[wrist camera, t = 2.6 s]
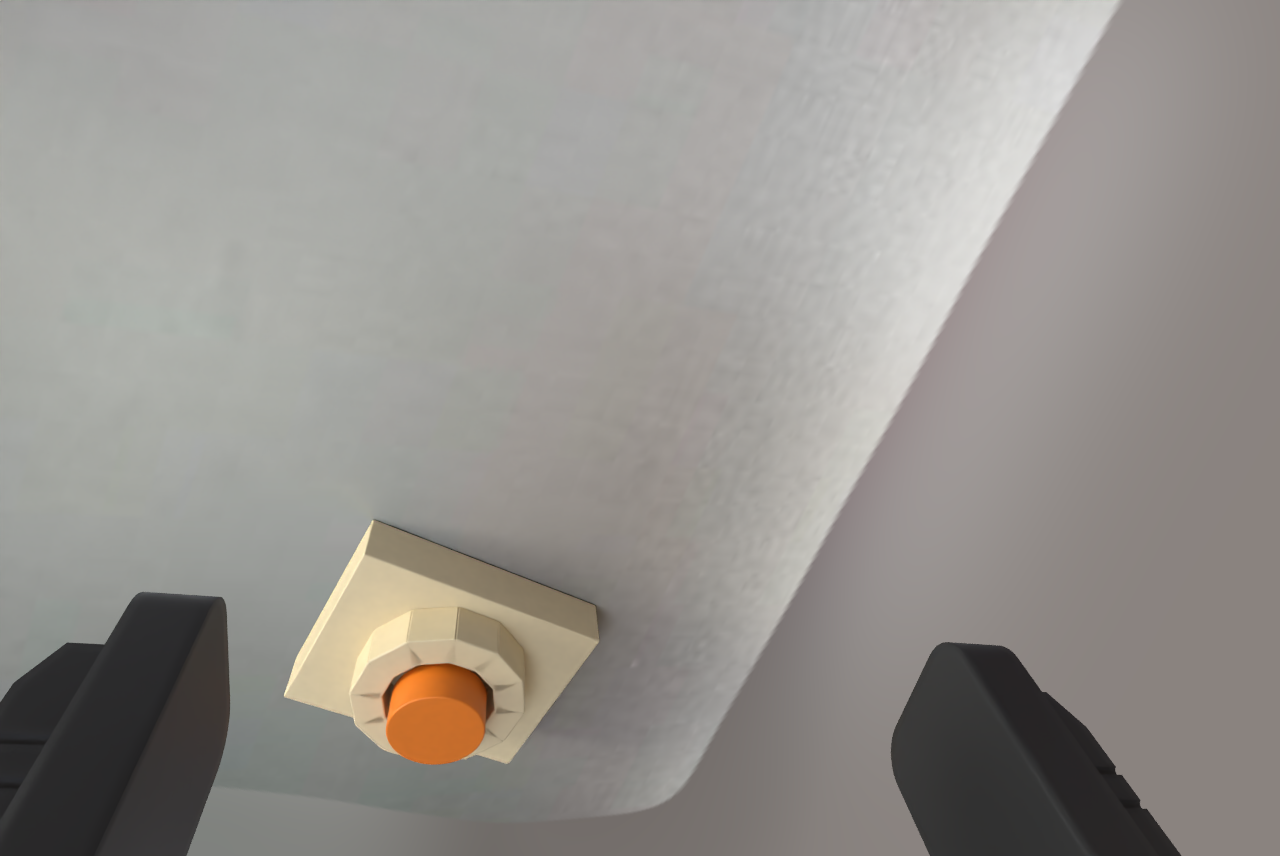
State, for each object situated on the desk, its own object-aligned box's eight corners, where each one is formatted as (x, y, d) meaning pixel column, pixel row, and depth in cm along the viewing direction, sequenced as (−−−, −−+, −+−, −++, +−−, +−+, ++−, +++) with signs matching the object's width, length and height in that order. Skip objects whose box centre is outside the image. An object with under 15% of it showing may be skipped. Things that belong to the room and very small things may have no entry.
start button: (503, 679, 33) (501, 714, 31) (461, 738, 34) (458, 775, 32) (416, 649, 31) (410, 685, 30) (376, 712, 33) (369, 749, 31)
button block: (596, 605, 36) (603, 674, 32) (509, 725, 39) (507, 800, 35) (373, 518, 32) (355, 586, 29) (296, 657, 35) (271, 733, 32)
